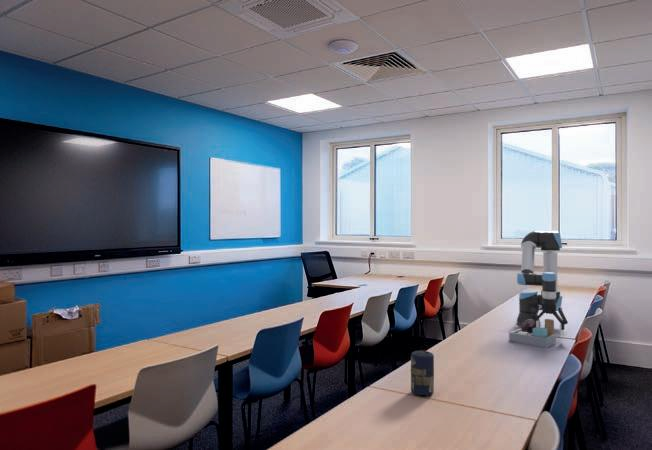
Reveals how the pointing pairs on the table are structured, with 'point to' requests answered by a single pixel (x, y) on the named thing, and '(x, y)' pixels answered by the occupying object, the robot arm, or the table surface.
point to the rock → (528, 326)
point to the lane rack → (532, 339)
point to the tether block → (544, 329)
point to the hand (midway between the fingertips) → (549, 333)
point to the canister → (422, 372)
